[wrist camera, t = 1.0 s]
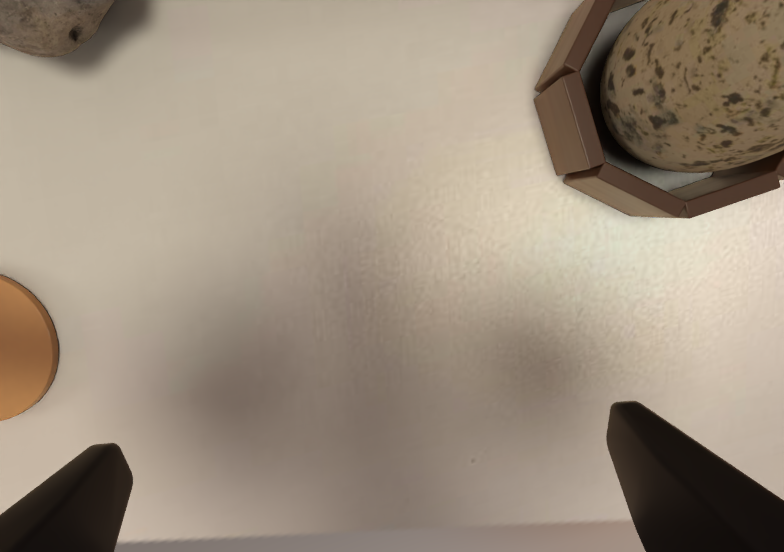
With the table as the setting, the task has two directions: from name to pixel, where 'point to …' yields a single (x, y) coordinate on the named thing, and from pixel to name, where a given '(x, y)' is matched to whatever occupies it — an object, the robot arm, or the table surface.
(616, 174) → the egg holder
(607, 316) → the table surface
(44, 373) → the coaster
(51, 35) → the stone
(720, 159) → the decorative egg
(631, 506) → the robot arm
